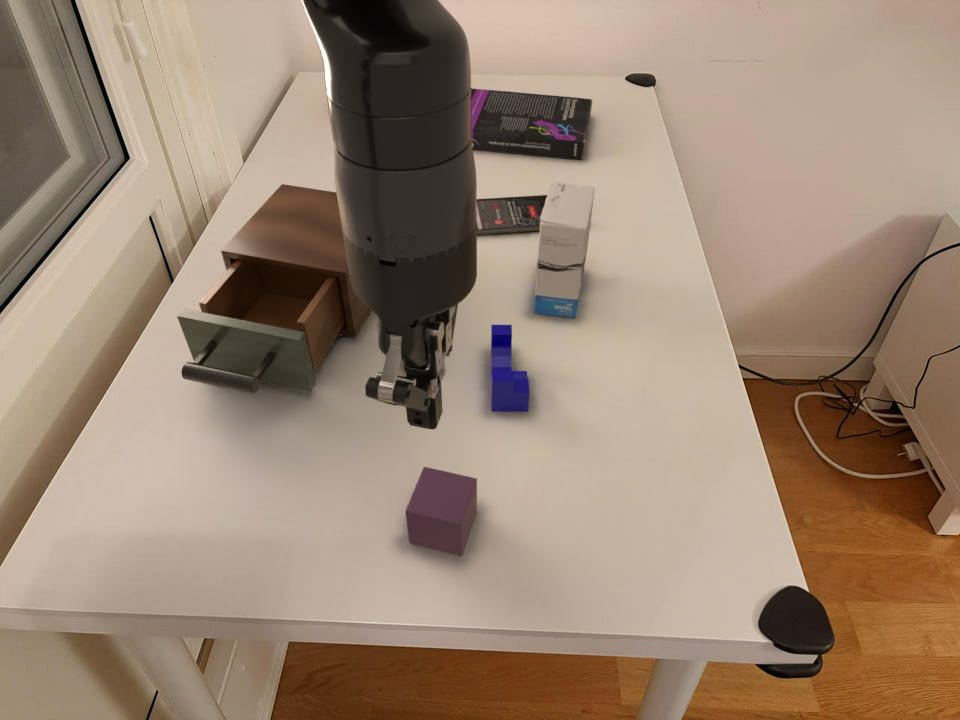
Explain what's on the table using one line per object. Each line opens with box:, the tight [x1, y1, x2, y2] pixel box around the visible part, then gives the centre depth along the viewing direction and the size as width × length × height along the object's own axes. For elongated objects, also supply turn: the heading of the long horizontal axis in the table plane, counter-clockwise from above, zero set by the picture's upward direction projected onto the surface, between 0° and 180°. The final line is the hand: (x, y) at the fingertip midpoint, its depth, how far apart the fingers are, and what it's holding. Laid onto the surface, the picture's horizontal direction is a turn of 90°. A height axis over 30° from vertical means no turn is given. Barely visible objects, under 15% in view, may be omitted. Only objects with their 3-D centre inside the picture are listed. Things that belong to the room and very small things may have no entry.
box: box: [471, 87, 593, 160], centre depth 109 cm, size 14×4×20 cm
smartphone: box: [477, 194, 547, 235], centre depth 93 cm, size 7×1×15 cm
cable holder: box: [490, 324, 530, 413], centre depth 71 cm, size 8×4×4 cm, turn 0°
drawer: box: [176, 259, 346, 395], centre depth 71 cm, size 17×12×7 cm
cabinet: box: [220, 183, 373, 339], centre depth 80 cm, size 14×14×9 cm
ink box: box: [532, 181, 596, 319], centre depth 78 cm, size 8×5×12 cm, turn 168°
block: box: [405, 466, 478, 557], centre depth 58 cm, size 4×4×4 cm
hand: (425, 420), depth 52 cm, fingers closed
